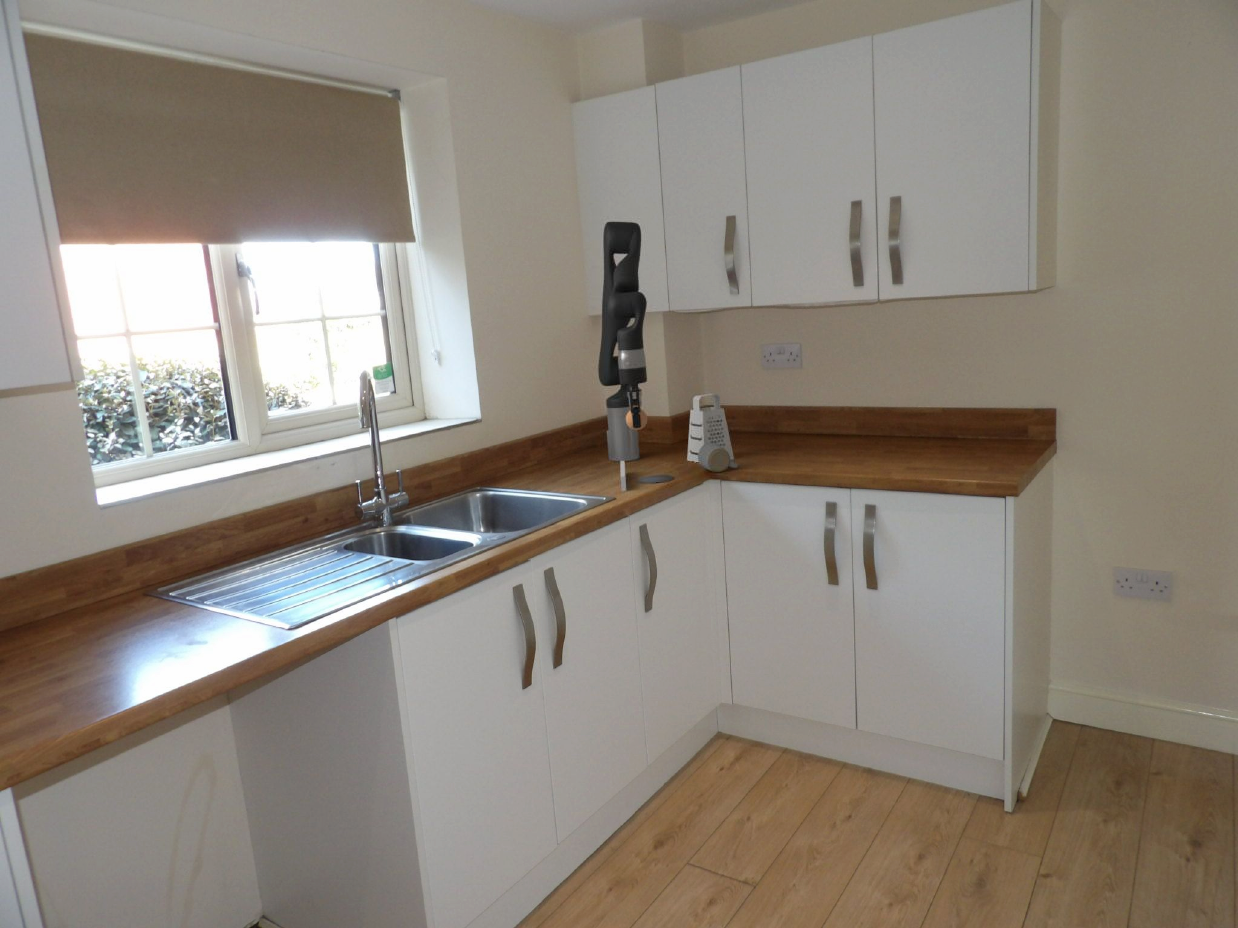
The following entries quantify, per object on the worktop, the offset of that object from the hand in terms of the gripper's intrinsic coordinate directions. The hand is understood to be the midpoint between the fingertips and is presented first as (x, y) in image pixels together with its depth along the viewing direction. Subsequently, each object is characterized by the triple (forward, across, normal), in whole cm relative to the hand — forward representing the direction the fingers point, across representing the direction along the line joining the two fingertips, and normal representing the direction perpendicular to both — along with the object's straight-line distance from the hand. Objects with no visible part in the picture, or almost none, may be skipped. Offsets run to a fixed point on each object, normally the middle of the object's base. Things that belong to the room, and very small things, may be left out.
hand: (637, 426), depth 250 cm
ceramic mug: (+16, +8, -22) cm, 29 cm away
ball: (-2, 0, 0) cm, 2 cm away
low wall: (+16, 0, +5) cm, 16 cm away
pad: (+16, 0, -4) cm, 16 cm away
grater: (+16, +25, -21) cm, 36 cm away
